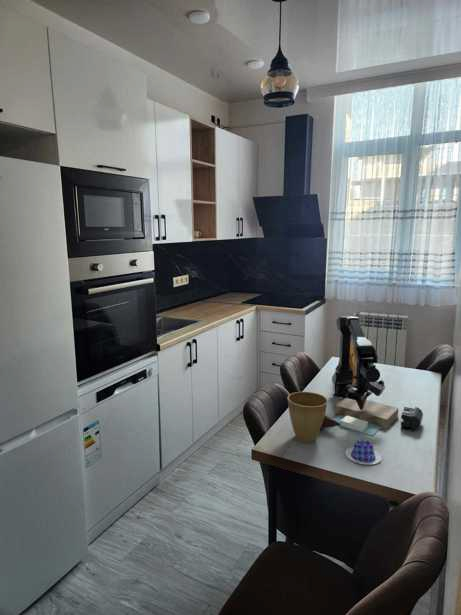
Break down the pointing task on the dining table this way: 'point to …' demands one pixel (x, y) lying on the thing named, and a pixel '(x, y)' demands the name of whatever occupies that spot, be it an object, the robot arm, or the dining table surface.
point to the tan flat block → (368, 412)
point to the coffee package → (352, 362)
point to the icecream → (328, 423)
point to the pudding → (363, 452)
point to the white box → (354, 423)
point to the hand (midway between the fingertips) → (361, 409)
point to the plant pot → (306, 414)
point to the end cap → (411, 419)
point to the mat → (368, 430)
